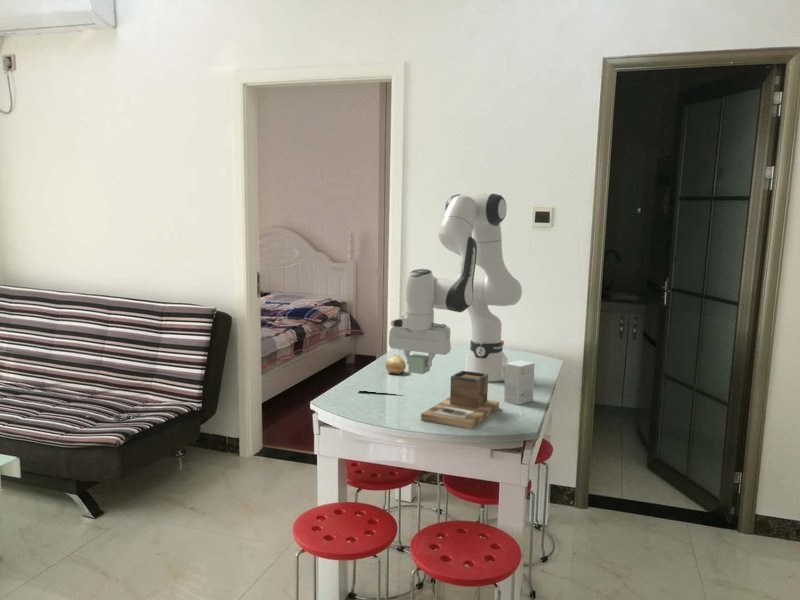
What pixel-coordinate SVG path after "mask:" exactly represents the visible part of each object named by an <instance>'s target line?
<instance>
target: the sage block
mask: <svg viewBox="0 0 800 600" xmlns="http://www.w3.org/2000/svg"><path fill="white" fill-rule="evenodd" d="M429 358H430V356H428V354H424V353H421V354H420V353H413V354H412V355H410V356H409V364H408V367H407V368H408V369H407V370H408V371H407V372H408V373H410V374H411V373H412V374H420V375H424V374H426V373H428V372H430V371H431V367H426V366H425V361H427V360H429Z"/></svg>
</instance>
